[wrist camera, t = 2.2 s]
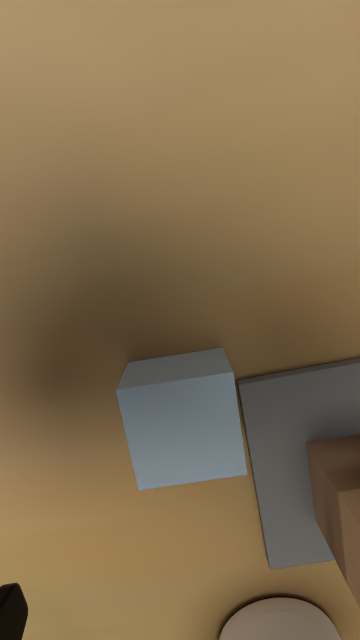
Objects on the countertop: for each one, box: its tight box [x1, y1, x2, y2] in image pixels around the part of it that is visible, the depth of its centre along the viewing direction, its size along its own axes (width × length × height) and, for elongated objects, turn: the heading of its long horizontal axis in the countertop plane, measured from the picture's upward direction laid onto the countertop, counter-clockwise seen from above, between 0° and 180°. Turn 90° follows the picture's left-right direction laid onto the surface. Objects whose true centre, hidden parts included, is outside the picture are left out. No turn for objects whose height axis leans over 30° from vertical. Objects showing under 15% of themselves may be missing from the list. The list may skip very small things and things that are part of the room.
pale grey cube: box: [116, 347, 247, 490], centre depth 16 cm, size 5×5×4 cm
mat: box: [237, 358, 360, 570], centre depth 18 cm, size 11×12×1 cm
